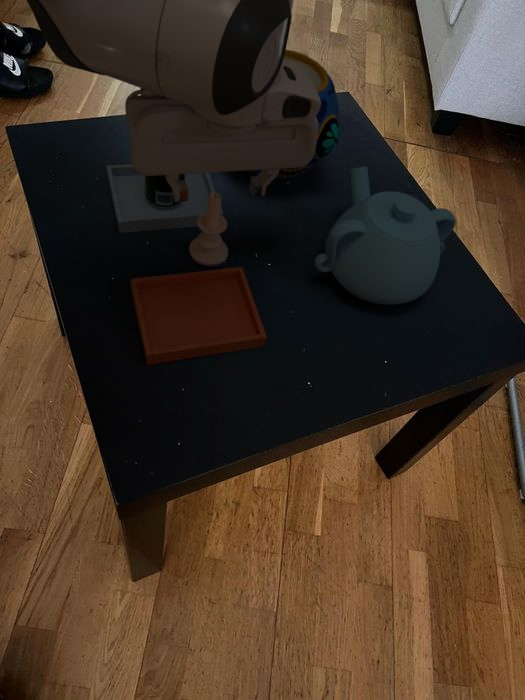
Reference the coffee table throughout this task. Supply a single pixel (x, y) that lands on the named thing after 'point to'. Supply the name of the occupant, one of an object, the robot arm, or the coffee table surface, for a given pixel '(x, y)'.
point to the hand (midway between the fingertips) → (219, 195)
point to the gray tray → (145, 217)
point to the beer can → (160, 192)
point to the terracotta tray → (196, 314)
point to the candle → (210, 235)
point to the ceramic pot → (325, 116)
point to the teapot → (385, 244)
